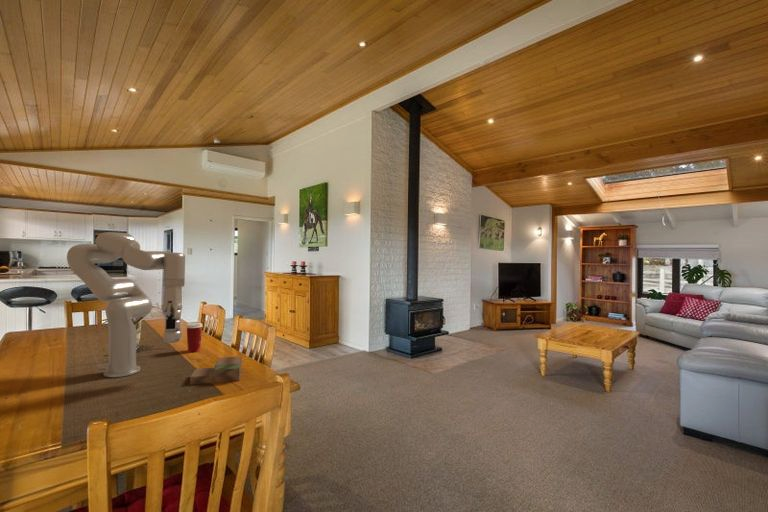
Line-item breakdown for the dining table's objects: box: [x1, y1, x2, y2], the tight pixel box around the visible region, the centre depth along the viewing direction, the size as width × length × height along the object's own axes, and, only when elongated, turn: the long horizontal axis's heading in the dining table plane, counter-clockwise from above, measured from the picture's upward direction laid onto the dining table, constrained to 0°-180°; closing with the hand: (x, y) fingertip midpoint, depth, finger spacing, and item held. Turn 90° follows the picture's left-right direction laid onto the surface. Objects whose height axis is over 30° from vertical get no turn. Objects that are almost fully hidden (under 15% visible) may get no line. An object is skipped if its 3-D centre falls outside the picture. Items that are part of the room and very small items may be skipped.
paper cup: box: [185, 322, 203, 353], centre depth 186 cm, size 8×8×14 cm
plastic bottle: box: [162, 303, 183, 344], centre depth 147 cm, size 6×7×20 cm
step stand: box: [189, 356, 243, 386], centre depth 148 cm, size 18×10×7 cm, turn 107°
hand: (172, 326), depth 147 cm, fingers closed on plastic bottle, 5 cm apart
